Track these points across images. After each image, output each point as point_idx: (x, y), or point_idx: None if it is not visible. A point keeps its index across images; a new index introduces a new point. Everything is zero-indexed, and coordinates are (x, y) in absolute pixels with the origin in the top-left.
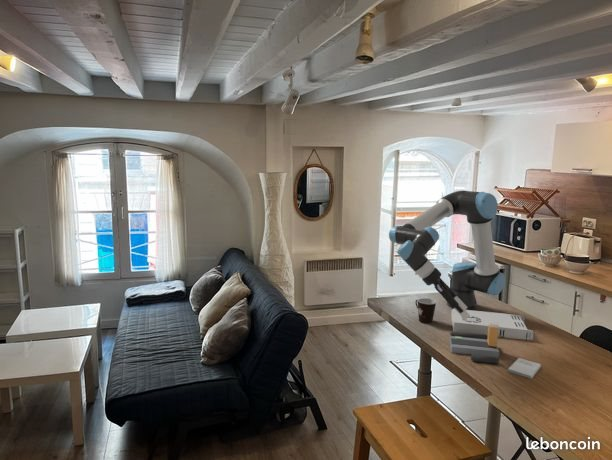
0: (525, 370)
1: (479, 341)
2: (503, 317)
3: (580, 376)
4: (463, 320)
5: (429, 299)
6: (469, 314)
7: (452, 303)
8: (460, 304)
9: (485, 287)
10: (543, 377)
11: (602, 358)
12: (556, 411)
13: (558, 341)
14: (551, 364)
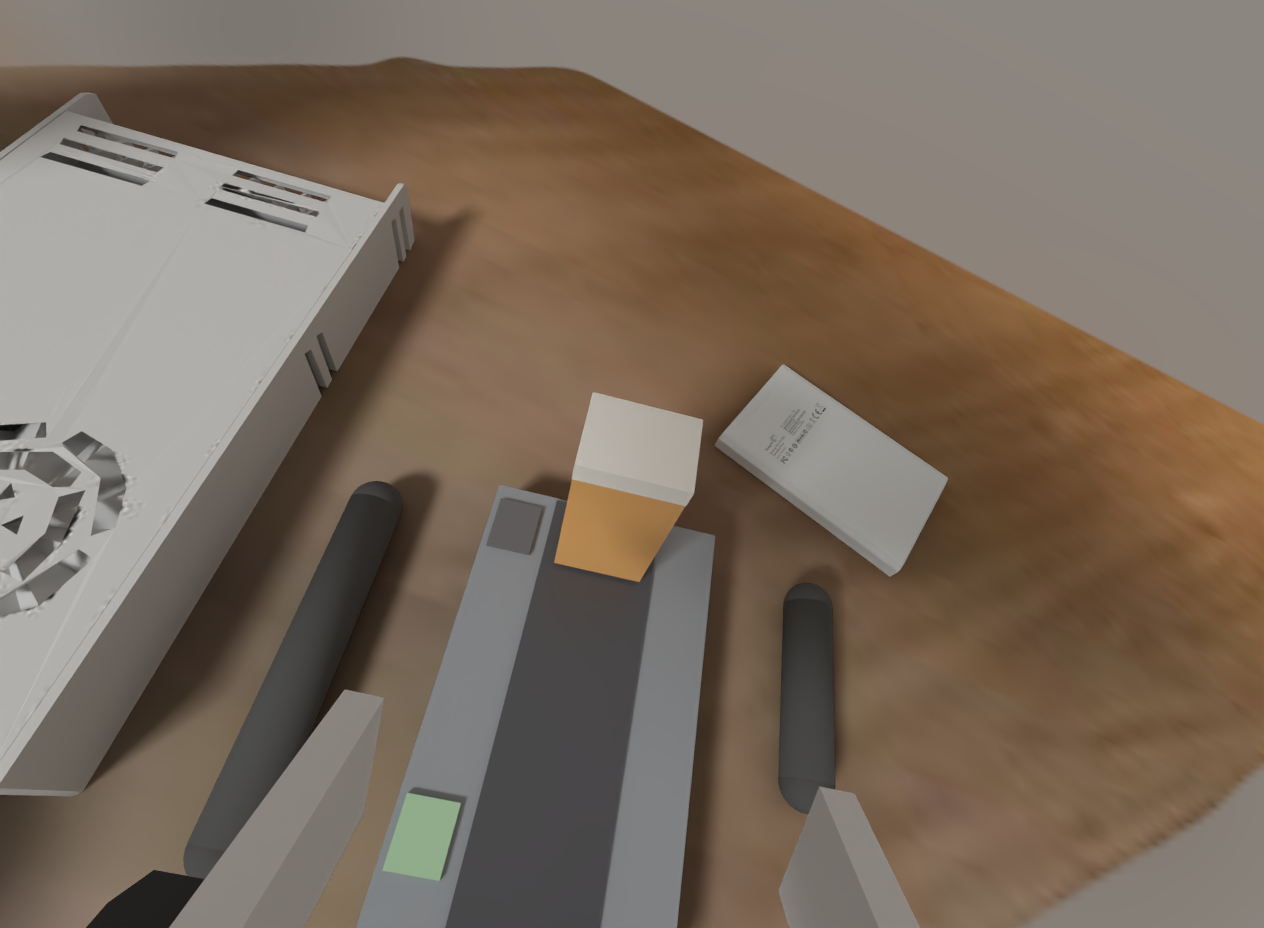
0: (889, 476)
1: (531, 626)
2: (66, 222)
3: (837, 267)
4: None
5: None
6: (830, 802)
7: None
8: (297, 890)
9: None
10: (901, 418)
11: (638, 108)
12: (1212, 521)
13: (443, 144)
14: (739, 311)
